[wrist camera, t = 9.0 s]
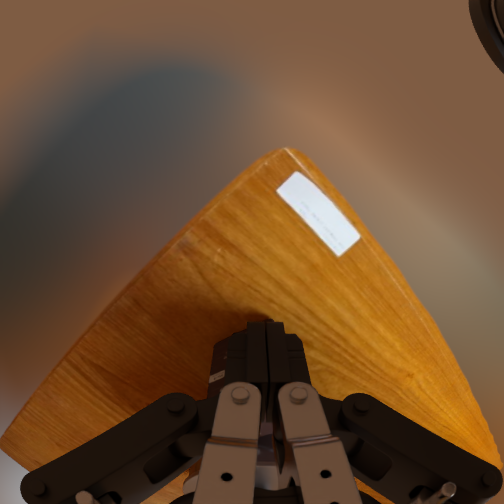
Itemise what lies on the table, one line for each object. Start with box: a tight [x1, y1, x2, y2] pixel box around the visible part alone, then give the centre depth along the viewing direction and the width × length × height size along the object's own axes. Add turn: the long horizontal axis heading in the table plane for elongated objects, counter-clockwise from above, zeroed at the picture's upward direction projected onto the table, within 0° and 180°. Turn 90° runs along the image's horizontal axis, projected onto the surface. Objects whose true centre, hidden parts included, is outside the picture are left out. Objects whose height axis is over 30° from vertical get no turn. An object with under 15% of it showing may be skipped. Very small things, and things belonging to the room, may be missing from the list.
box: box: [207, 318, 274, 437], centre depth 23 cm, size 6×6×7 cm
